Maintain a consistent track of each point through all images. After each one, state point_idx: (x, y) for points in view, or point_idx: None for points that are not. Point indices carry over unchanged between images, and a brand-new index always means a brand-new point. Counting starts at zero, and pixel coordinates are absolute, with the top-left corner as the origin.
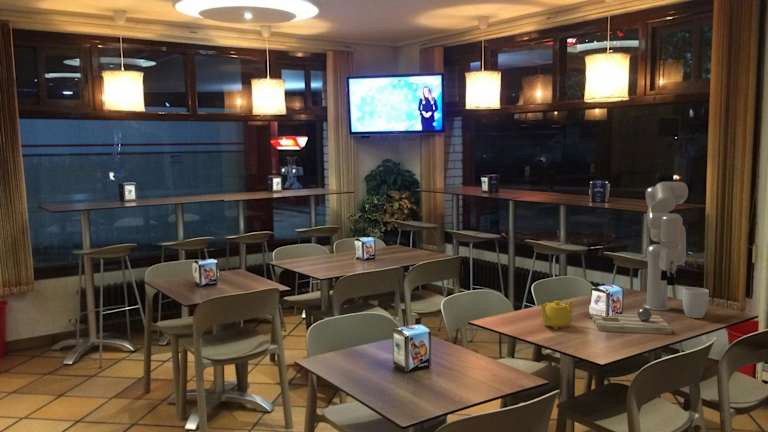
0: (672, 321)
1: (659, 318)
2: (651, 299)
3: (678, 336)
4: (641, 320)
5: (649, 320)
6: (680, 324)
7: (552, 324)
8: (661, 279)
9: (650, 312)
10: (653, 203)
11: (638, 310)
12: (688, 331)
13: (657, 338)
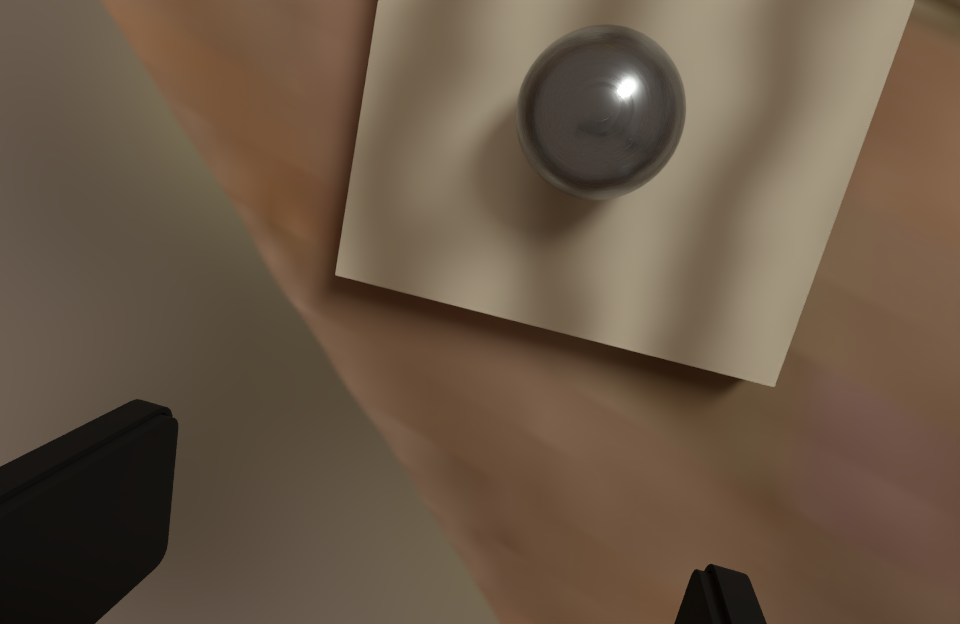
0: (730, 482)
1: (672, 334)
2: None
3: (290, 288)
4: None
5: None
6: (625, 495)
7: None
8: (699, 581)
9: (537, 164)
10: None
11: (629, 34)
12: (420, 441)
13: (234, 80)
